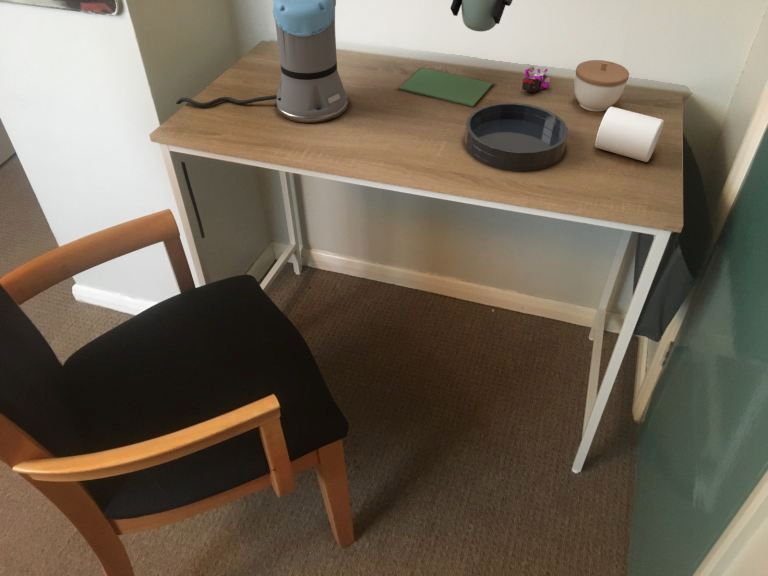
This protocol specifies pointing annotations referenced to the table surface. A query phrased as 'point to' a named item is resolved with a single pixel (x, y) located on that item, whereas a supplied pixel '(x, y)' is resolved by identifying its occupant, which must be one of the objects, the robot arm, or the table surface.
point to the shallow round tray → (515, 136)
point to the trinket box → (599, 84)
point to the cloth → (446, 86)
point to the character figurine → (534, 80)
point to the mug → (629, 133)
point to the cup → (478, 14)
